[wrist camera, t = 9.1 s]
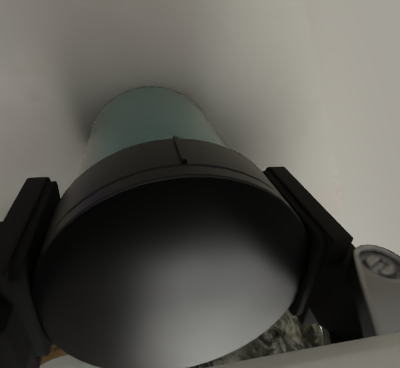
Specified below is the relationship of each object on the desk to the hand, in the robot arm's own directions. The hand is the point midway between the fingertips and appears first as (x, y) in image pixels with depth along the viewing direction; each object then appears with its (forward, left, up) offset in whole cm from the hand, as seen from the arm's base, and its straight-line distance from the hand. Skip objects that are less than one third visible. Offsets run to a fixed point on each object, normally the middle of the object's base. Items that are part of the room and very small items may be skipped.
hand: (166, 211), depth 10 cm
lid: (0, 0, +3) cm, 3 cm away
